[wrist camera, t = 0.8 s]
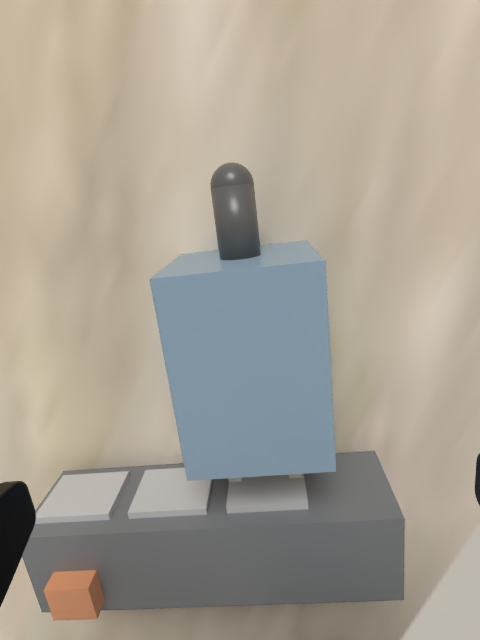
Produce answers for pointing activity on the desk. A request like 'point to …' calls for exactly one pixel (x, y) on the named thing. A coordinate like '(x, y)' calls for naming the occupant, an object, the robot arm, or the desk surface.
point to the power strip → (215, 539)
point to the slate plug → (247, 347)
